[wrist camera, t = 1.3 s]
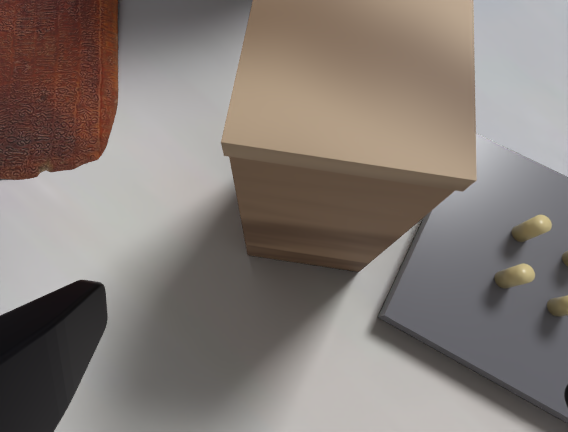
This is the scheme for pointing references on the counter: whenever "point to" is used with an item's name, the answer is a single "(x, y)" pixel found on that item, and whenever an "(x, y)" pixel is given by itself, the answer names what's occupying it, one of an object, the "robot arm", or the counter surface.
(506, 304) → the flat gray plate
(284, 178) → the tan square box
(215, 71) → the counter surface
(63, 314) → the robot arm
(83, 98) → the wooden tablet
